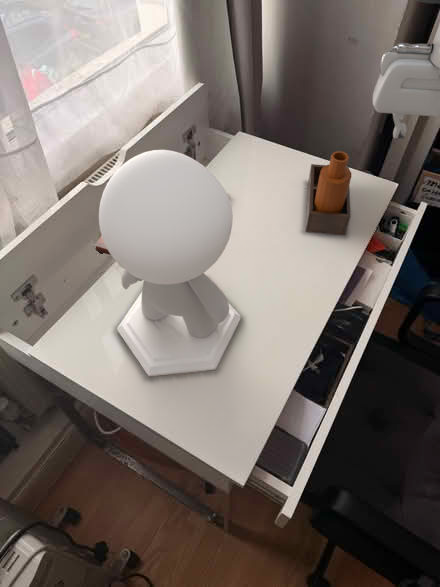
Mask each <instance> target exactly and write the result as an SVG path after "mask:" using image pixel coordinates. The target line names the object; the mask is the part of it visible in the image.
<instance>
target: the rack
mask: <svg viewBox="0 0 440 587" xmlns="http://www.w3.org/2000/svg"><path fill="white" fill-rule="evenodd" d="M326 165H327V164H314V163H311V165H310V169H309V175H308V179H307V180H308V181H307V192H306V194H307V195H306V212H305V213H306V215H305V232H306V233H317V234H325V235H336V236H346V234H347V229H348V226H349V223H350V221H351V192H350V191H351V189H350V185H349V188H348V191H347V195H346V198H345V202H344V205H343V209H342V213H341V214H338V213H327V212H316V211H313V206H314V201H315V196H316V191H317V186H318V182H319V177H320V172H321V169H322V168H323V167H324V166H326ZM347 168H348V169H349V170H350V166H347Z"/></svg>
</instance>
